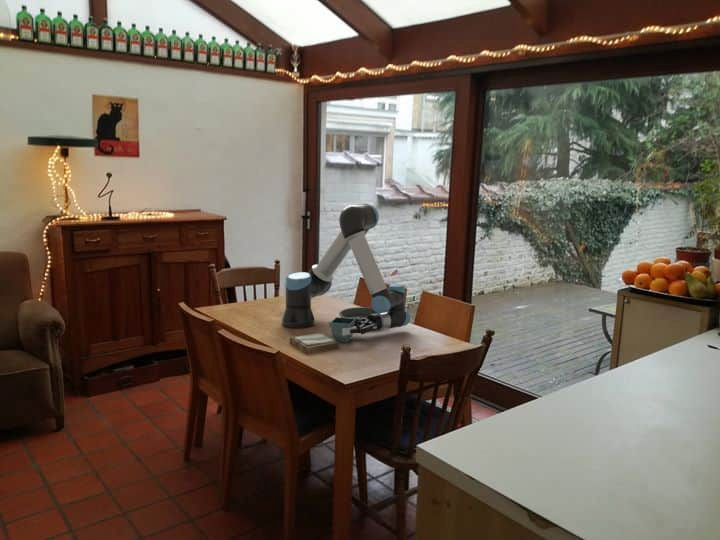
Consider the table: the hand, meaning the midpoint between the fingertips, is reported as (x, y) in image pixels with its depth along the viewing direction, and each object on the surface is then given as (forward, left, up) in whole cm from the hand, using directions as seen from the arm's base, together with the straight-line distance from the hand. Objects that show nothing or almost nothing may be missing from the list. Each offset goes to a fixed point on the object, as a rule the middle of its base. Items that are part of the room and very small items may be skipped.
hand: (335, 328), depth 249 cm
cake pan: (-20, +28, -6) cm, 35 cm away
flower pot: (0, +4, -6) cm, 7 cm away
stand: (0, -10, -6) cm, 12 cm away
